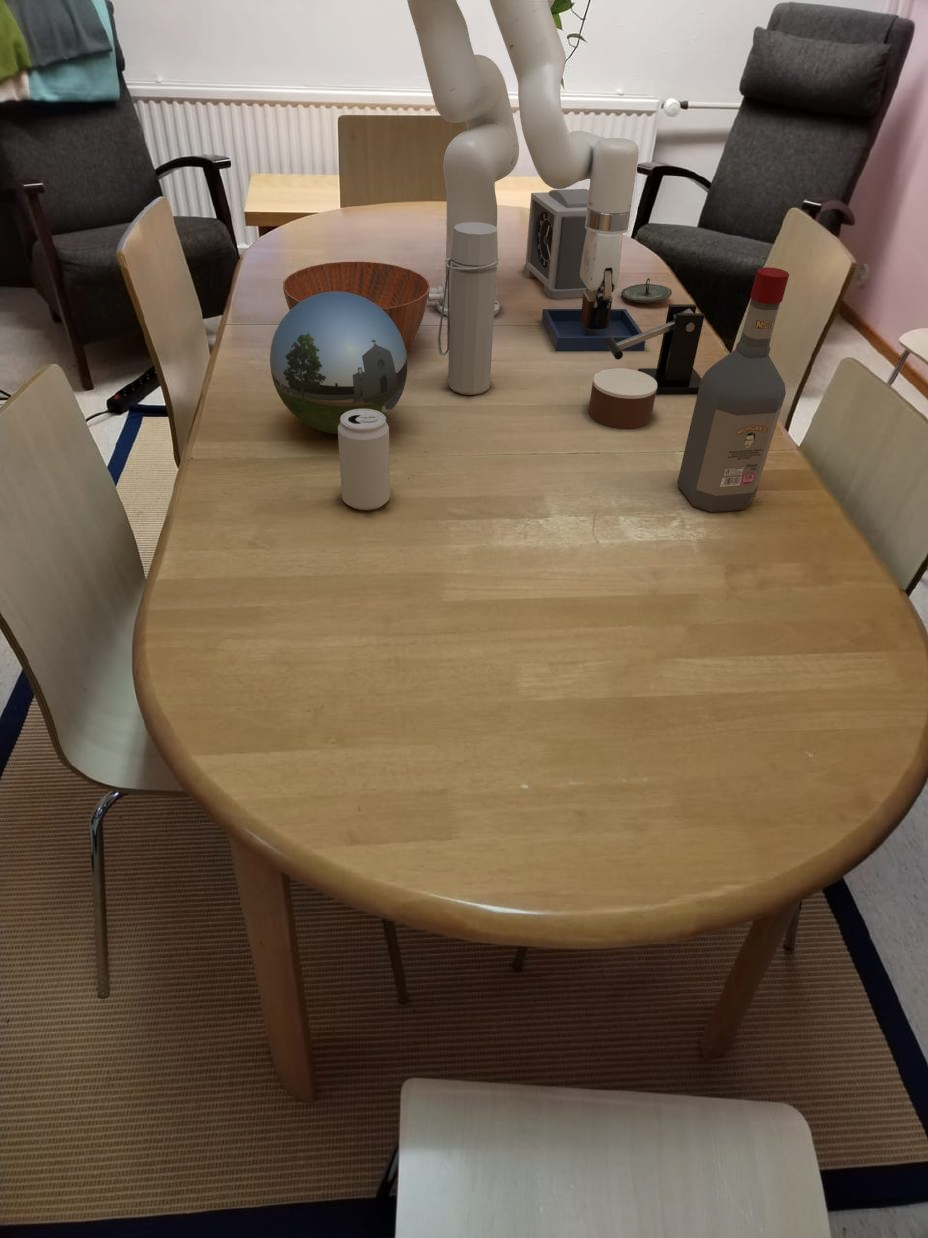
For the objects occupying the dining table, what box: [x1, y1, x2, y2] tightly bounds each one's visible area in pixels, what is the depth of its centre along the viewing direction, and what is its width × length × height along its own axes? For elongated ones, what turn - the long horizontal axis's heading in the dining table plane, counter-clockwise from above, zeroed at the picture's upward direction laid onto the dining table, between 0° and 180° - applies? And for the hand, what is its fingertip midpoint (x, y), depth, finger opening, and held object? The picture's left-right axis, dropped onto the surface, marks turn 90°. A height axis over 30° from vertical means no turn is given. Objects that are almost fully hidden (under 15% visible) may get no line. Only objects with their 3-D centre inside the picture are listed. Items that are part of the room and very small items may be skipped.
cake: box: [588, 367, 657, 430], centre depth 134 cm, size 10×10×6 cm
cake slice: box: [580, 290, 613, 329], centre depth 158 cm, size 4×4×6 cm
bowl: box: [282, 261, 431, 352], centre depth 148 cm, size 25×25×11 cm
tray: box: [541, 308, 647, 352], centre depth 160 cm, size 17×15×2 cm
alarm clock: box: [523, 188, 603, 300], centre depth 178 cm, size 18×13×18 cm
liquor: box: [677, 266, 790, 513], centre depth 108 cm, size 9×9×30 cm
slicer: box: [637, 303, 706, 396], centre depth 141 cm, size 10×8×13 cm
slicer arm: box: [606, 309, 693, 360], centre depth 139 cm, size 14×6×2 cm, turn 96°
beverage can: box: [337, 409, 391, 511], centre depth 109 cm, size 6×6×12 cm
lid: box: [620, 277, 673, 304], centre depth 176 cm, size 11×10×5 cm
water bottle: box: [437, 222, 500, 396], centre depth 133 cm, size 9×8×25 cm
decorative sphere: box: [269, 291, 408, 435], centre depth 122 cm, size 20×20×20 cm
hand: (594, 322), depth 159 cm, fingers closed on cake slice, 4 cm apart
